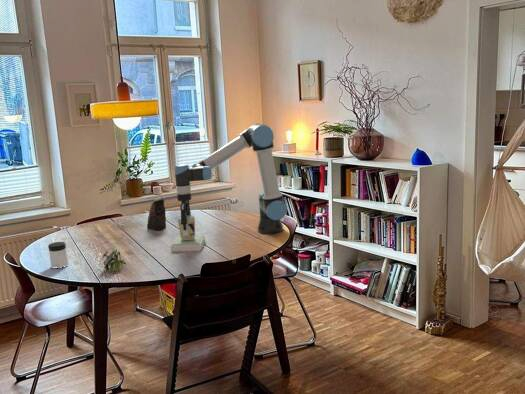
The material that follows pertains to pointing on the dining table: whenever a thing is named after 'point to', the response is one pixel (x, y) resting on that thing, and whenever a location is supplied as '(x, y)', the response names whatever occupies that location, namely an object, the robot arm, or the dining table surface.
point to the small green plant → (117, 262)
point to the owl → (157, 215)
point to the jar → (58, 254)
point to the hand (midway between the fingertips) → (187, 233)
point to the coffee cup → (190, 227)
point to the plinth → (188, 244)
